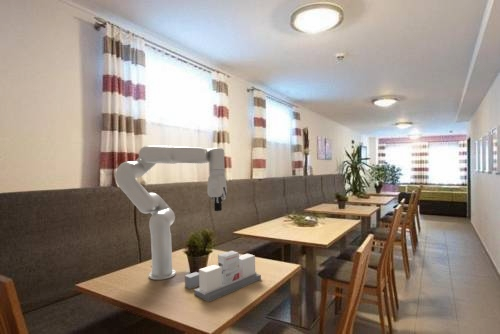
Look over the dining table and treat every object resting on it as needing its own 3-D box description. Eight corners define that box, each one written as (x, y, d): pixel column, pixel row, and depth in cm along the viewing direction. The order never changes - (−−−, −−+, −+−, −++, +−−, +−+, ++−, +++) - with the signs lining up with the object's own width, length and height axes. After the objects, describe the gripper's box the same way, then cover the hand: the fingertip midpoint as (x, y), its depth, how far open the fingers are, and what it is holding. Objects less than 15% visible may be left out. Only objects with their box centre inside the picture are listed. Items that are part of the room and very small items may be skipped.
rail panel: (194, 294, 124) (193, 268, 124) (245, 274, 145) (245, 251, 145) (208, 301, 117) (208, 274, 117) (260, 279, 138) (260, 256, 138)
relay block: (185, 286, 133) (184, 275, 133) (196, 282, 137) (195, 271, 137) (190, 289, 130) (189, 277, 130) (201, 284, 134) (201, 273, 134)
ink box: (232, 275, 136) (232, 250, 136) (240, 278, 132) (239, 252, 132) (217, 281, 130) (216, 254, 130) (225, 284, 126) (224, 256, 126)
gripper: (201, 173, 149) (202, 210, 149) (220, 173, 138) (222, 213, 138) (213, 172, 154) (214, 208, 154) (232, 173, 144) (234, 211, 144)
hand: (218, 210), depth 146 cm, fingers closed
